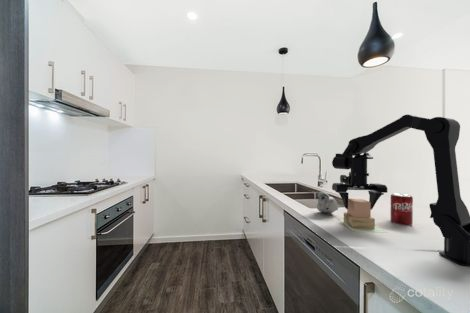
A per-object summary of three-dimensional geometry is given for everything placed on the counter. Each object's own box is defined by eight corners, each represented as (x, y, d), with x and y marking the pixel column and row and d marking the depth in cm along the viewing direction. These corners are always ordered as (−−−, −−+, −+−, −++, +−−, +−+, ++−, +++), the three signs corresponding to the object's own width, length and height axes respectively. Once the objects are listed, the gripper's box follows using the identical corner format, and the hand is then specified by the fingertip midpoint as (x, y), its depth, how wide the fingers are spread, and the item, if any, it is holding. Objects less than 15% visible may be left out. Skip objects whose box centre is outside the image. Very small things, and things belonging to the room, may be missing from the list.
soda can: (416, 227, 82) (417, 197, 82) (396, 225, 84) (396, 196, 84) (405, 221, 90) (406, 193, 90) (387, 220, 91) (387, 193, 91)
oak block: (374, 229, 78) (374, 218, 78) (352, 228, 79) (352, 218, 79) (363, 222, 86) (363, 212, 86) (343, 221, 87) (343, 212, 87)
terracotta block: (370, 217, 79) (370, 202, 79) (354, 217, 80) (354, 201, 80) (362, 213, 85) (362, 198, 85) (347, 212, 86) (347, 198, 86)
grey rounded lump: (343, 218, 92) (341, 191, 94) (321, 218, 93) (320, 190, 95) (333, 216, 102) (332, 191, 104) (314, 215, 103) (313, 191, 105)
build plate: (388, 234, 75) (388, 232, 75) (353, 232, 76) (353, 231, 76) (364, 220, 91) (364, 218, 91) (336, 219, 92) (336, 218, 92)
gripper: (371, 169, 90) (371, 204, 90) (327, 168, 92) (327, 203, 92) (388, 171, 79) (388, 211, 79) (337, 170, 80) (337, 210, 81)
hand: (358, 209), depth 83 cm, fingers open, 9 cm apart
